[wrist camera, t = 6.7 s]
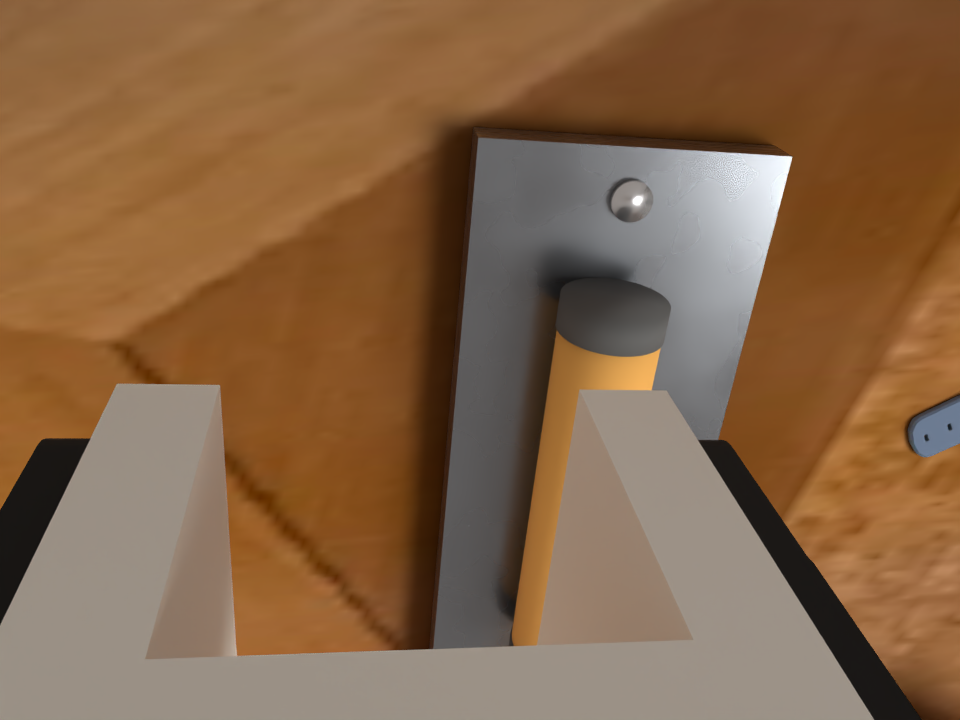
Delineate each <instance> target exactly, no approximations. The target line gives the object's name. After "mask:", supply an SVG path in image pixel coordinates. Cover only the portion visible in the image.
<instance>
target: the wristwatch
mask: <svg viewBox="0 0 960 720" xmlns="http://www.w3.org/2000/svg"><path fill="white" fill-rule="evenodd" d="M947 425H948V427H947ZM924 435H925V437H924ZM908 437H909V442H910V444H911V446H912V448H913V450H914V451H915V452H916V453H917V454H919V455H920V456H923V457H929V456H932V455H935V454H937V453H939V452H941V451H944V450H946V449H948V448H950V447H953V446H955V445H957V444H959V443H960V395H959V396H957V397H955V398H952V399H950V400H948V401H946V402H944V403H942V404H940V405H938V406H936V407H934V408H932V409H929V410H927V411H925V412H923V413H921V414H919V415H917V416H916V417H914V418H913V419H912V421H911V422H910V425H909V428H908Z"/></svg>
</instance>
